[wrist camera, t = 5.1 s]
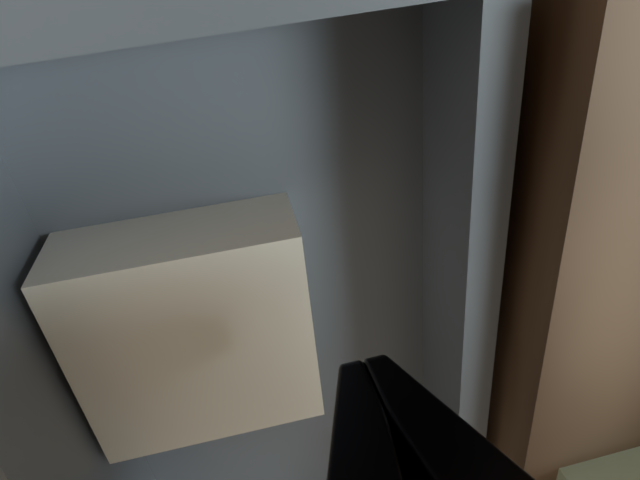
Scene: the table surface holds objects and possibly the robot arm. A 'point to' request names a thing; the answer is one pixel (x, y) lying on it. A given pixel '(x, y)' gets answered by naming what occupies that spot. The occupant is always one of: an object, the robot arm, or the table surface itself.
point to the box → (266, 188)
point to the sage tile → (605, 467)
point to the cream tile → (181, 324)
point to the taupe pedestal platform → (572, 244)
